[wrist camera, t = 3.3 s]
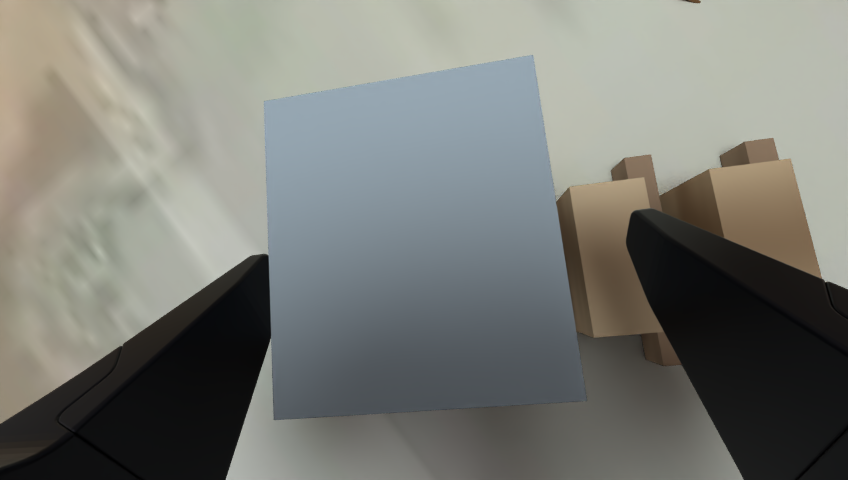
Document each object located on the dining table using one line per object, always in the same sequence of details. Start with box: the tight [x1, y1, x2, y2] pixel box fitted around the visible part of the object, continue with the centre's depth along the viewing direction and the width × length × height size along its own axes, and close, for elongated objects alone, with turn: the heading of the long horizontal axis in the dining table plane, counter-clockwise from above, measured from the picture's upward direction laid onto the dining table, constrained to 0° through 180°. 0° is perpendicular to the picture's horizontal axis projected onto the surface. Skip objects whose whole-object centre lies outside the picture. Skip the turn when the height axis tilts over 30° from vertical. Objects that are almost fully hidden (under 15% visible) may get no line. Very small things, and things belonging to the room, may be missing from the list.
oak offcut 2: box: [659, 159, 822, 279], centre depth 14 cm, size 5×2×4 cm, turn 6°
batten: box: [264, 55, 587, 420], centre depth 11 cm, size 4×4×12 cm
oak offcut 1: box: [556, 177, 664, 338], centre depth 14 cm, size 5×2×4 cm, turn 6°
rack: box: [611, 138, 779, 366], centre depth 15 cm, size 8×16×2 cm, turn 96°
